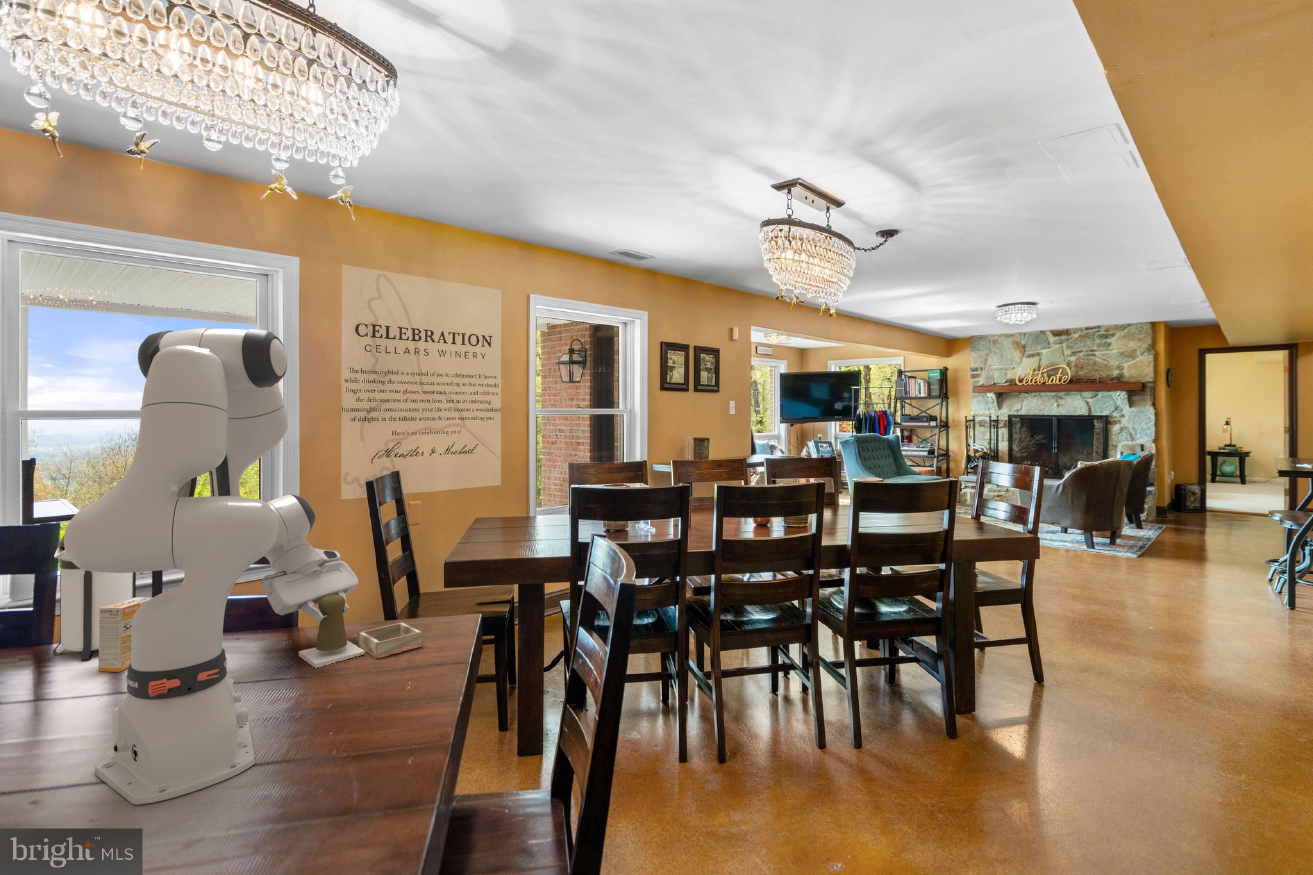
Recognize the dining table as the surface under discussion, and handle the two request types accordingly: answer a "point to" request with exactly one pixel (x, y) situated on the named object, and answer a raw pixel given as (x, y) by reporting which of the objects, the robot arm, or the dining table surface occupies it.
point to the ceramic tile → (330, 655)
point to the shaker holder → (378, 648)
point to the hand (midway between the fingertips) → (334, 615)
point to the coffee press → (90, 601)
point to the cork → (331, 624)
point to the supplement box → (117, 634)
